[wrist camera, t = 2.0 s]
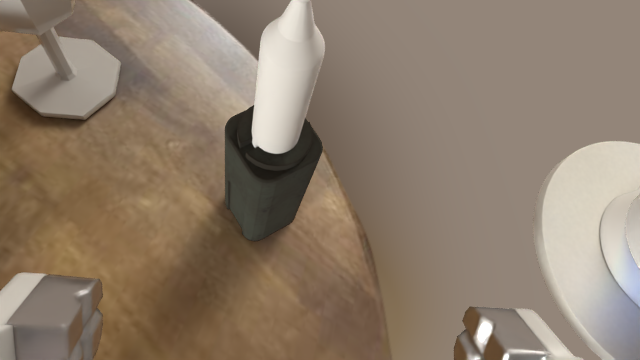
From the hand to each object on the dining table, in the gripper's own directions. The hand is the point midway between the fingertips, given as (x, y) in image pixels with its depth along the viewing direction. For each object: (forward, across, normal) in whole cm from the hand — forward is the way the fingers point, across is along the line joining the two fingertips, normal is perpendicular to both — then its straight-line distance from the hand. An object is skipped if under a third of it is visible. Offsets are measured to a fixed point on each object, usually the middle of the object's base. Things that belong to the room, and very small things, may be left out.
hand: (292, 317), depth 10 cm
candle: (+28, 0, +10) cm, 30 cm away
